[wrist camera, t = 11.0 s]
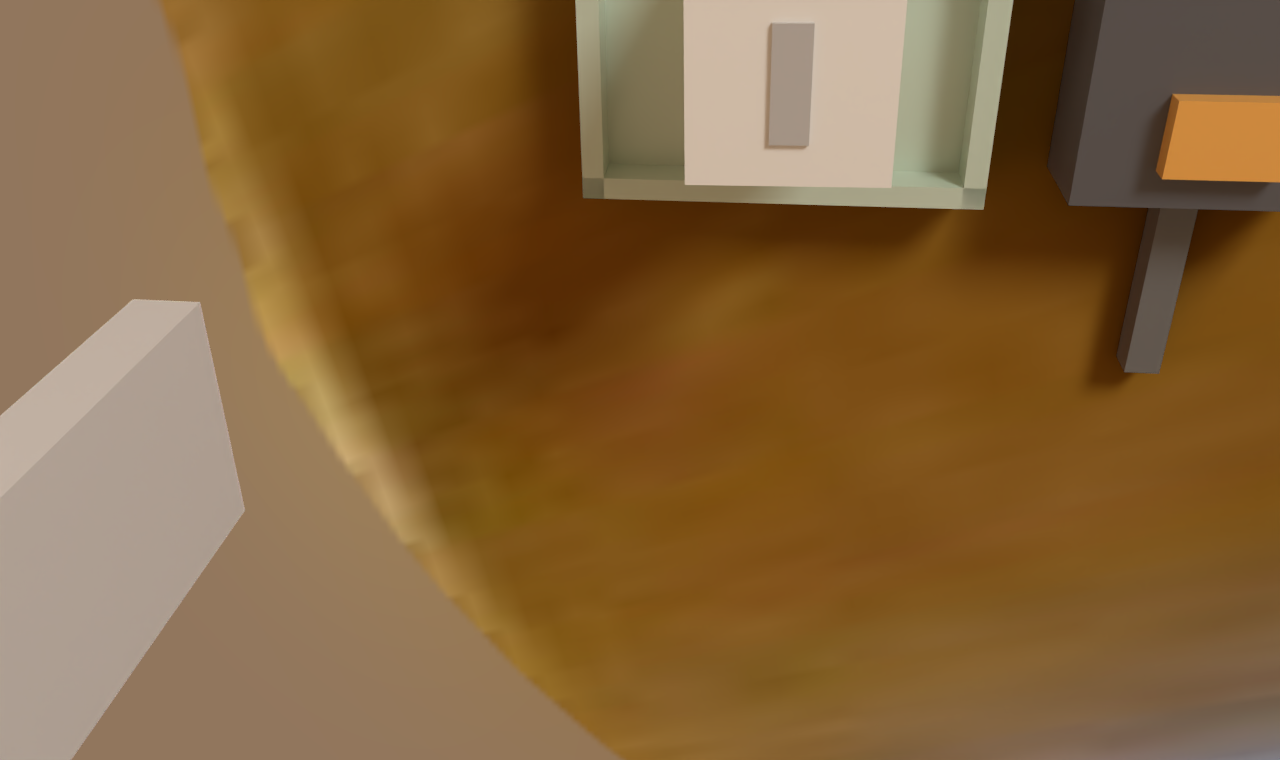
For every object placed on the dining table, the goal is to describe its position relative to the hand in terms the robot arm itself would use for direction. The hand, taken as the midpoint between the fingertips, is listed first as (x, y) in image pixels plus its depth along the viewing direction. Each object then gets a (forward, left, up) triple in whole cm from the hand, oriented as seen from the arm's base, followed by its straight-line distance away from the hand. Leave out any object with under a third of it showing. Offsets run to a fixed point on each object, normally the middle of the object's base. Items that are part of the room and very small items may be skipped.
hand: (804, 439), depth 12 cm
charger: (0, 0, -21) cm, 21 cm away
